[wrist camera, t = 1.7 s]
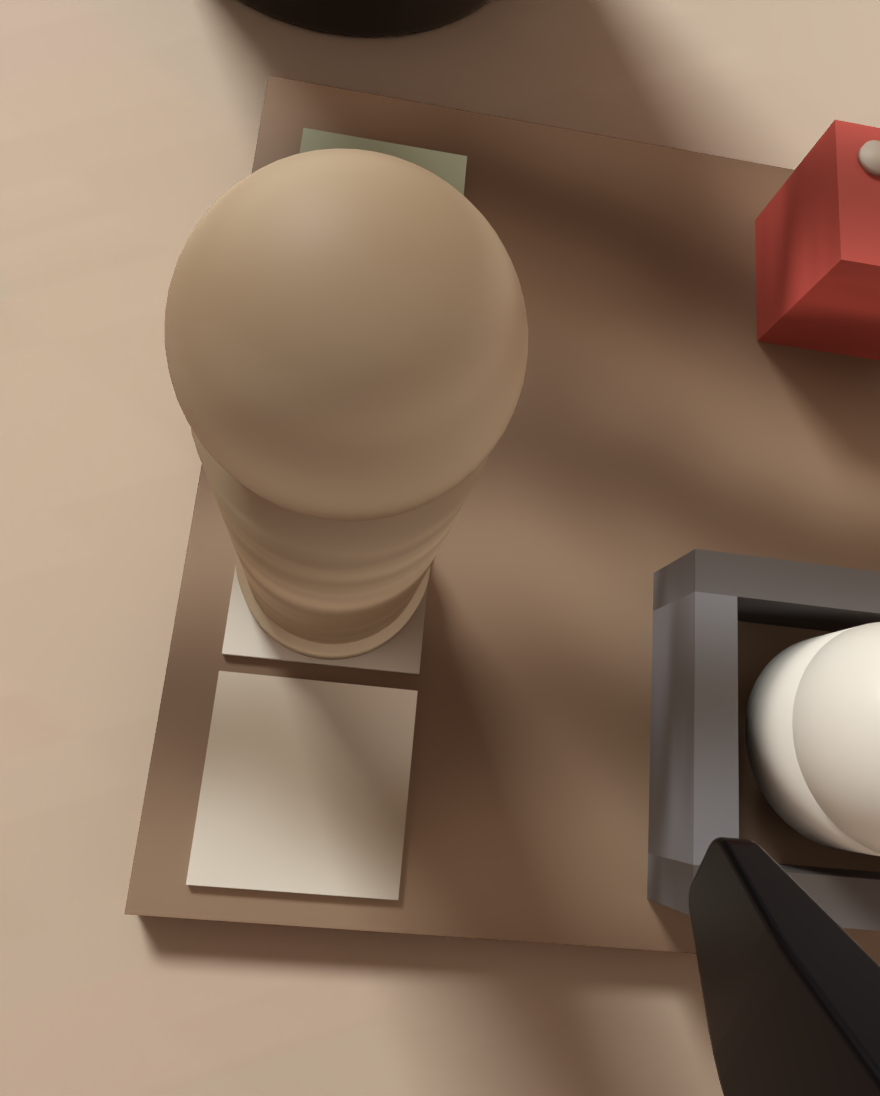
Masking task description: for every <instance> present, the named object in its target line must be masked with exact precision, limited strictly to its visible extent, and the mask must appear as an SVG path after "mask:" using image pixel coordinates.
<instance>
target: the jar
mask: <svg viewBox="0 0 880 1096" xmlns="http://www.w3.org/2000/svg"><path fill="white" fill-rule="evenodd" d="M241 1H243V2H244V3H246V4H248V5H249V6H251V7H253V8H255V9H257V10H259V11H261V12H263V13H266V14H268V15H271V16H273V17H275V18H278V19H280V20H283V21H286V22H289V23H292V24H295V25H298V26H302V27H306V28H309V29H313V30H318V31H323V32H328V33H335V34H342V35H353V36H391V35H401V34H408V33H414V32H419V31H423V30H428V29H431V28H435V27H438V26H441V25H444V24H447V23H449V22H452V21H454V20H457V19H459V18H461V17H463V16H465V15H467V14H469V13H471V12H472V11H474V10H476V9H477V8H479V7H480V6H482V5H483V4H485V3H486V2H487V1H488V0H241Z"/></svg>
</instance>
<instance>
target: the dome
mask: <svg viewBox="0 0 880 1096" xmlns="http://www.w3.org/2000/svg"><path fill="white" fill-rule="evenodd" d="M744 732H745V745H746V751H747V756H748V760H749V764H750V767H751V770H752V773H753V775H754V778H755V780H756V782H757V784H758V787H759V788H760V790H761V792H762V794H763V795H764V797H765V799H766V800H767V801H768V803H769V804H770V805H771V807H772V808H773V809H774V811H775V812H776V813H777V814H778V815H779V816H780V817H781V818H782V819H783V820H784V821H785V822H786V823H787V824H788V825H789V826H791V827H792V828H793V829H794V830H795V831H797V832H798V833H800V834H801V835H803V836H805V837H806V838H808V839H810V840H812V841H814V842H816V843H818V844H820V845H823V846H827V847H830V848H833V849H838V850H844V851H850V852H857V853H863V854H869V855H875V856H880V622H875V623H868V624H864V625H860V626H856V627H852V628H848V629H845V630H841V631H837V632H833V633H829V634H825V635H822V636H818V637H814V638H810V639H806V640H803V641H800V642H798V643H795V644H793V645H791V646H789V647H788V648H786V649H784V650H783V651H781V652H780V653H779V654H778V655H777V656H775V657H774V658H773V659H772V660H771V661H770V662H769V663H768V664H767V665H766V667H765V668H764V669H763V671H762V672H761V674H760V675H759V677H758V678H757V680H756V682H755V684H754V686H753V688H752V691H751V694H750V697H749V700H748V703H747V709H746V714H745V728H744Z"/></svg>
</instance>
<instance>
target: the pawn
mask: <svg viewBox="0 0 880 1096" xmlns="http://www.w3.org/2000/svg"><path fill="white" fill-rule="evenodd" d="M165 349H166V356H167V362H168V368H169V373H170V377H171V381H172V384H173V387H174V390H175V394H176V397H177V400H178V402H179V404H180V406H181V409H182V411H183V413H184V415H185V417H186V419H187V421H188V423H189V425H190V426H191V430H192V436H193V439H194V442H195V445H196V448H197V452H198V455H199V457H200V460H201V462H202V465H203V468H204V470H205V473H206V475H207V478H208V480H209V483H210V486H211V488H212V491H213V493H214V496H215V499H216V501H217V504H218V506H219V509H220V512H221V514H222V517H223V519H224V522H225V525H226V527H227V530H228V532H229V535H230V538H231V540H232V543H233V545H234V548H235V551H236V554H235V557H236V572H237V578H238V582H239V585H240V589H241V592H242V594H243V596H244V599H245V601H246V603H247V605H248V607H249V609H250V612H251V614H252V615H253V617H254V618H255V620H256V621H257V623H258V624H259V625H260V626H261V628H262V629H263V630H264V631H265V632H266V633H267V634H268V635H269V636H270V637H271V638H273V639H274V640H275V641H276V642H278V643H279V644H281V645H282V646H284V647H285V648H287V649H289V650H291V651H294V652H296V653H298V654H301V655H304V656H307V657H312V658H317V659H325V660H340V659H348V658H353V657H358V656H361V655H364V654H367V653H369V652H371V651H373V650H375V649H377V648H379V647H381V646H382V645H384V644H385V643H387V642H388V641H390V640H391V639H392V638H393V637H394V636H396V635H397V634H398V633H399V632H400V631H401V630H402V628H403V627H404V626H405V625H406V624H407V622H408V621H409V619H410V618H411V616H412V615H413V613H414V612H415V610H416V608H417V607H418V605H419V603H420V601H421V599H422V597H423V595H424V592H425V589H426V586H427V583H428V579H429V574H430V565H431V563H432V562H433V560H434V558H435V556H436V554H437V553H438V551H439V549H440V547H441V545H442V544H443V542H444V540H445V538H446V536H447V535H448V533H449V531H450V529H451V527H452V526H453V524H454V522H455V520H456V518H457V517H458V515H459V513H460V511H461V509H462V508H463V506H464V504H465V502H466V500H467V499H468V497H469V495H470V493H471V491H472V489H473V488H474V486H475V484H476V482H477V480H478V479H479V477H480V475H481V472H482V470H483V468H484V466H485V464H486V462H487V459H488V456H489V454H490V452H491V451H492V450H493V448H494V447H495V445H496V444H497V442H498V441H499V439H500V438H501V436H502V435H503V433H504V432H505V430H506V428H507V425H508V423H509V421H510V419H511V417H512V415H513V413H514V410H515V408H516V405H517V402H518V399H519V396H520V393H521V390H522V387H523V383H524V377H525V371H526V365H527V356H528V323H527V315H526V308H525V302H524V297H523V293H522V289H521V286H520V282H519V278H518V276H517V273H516V271H515V269H514V266H513V264H512V261H511V259H510V257H509V255H508V253H507V251H506V249H505V247H504V246H503V244H502V242H501V240H500V238H499V237H498V235H497V233H496V232H495V230H494V229H493V228H492V226H491V225H490V224H489V222H488V221H487V220H486V218H485V217H484V216H483V215H482V214H481V213H480V212H479V211H478V210H477V209H476V207H475V206H474V205H473V204H472V203H471V202H470V201H469V200H468V199H467V198H466V197H465V196H463V195H462V194H461V193H460V192H459V191H457V190H456V189H455V188H454V187H453V186H451V185H450V184H449V183H447V182H446V181H444V180H443V179H441V178H440V177H438V176H437V175H435V174H434V173H432V172H430V171H428V170H426V169H424V168H422V167H420V166H418V165H416V164H414V163H411V162H409V161H406V160H403V159H401V158H398V157H395V156H391V155H387V154H383V153H379V152H374V151H367V150H360V149H337V148H336V149H324V150H314V151H310V152H305V153H300V154H295V155H292V156H289V157H286V158H283V159H280V160H277V161H275V162H273V163H271V164H269V165H267V166H265V167H263V168H260V169H259V170H257V171H255V172H254V173H252V174H250V175H249V176H247V177H246V178H244V179H243V180H241V181H240V182H238V183H236V184H235V185H234V186H233V187H232V188H230V189H229V190H228V191H227V192H226V193H224V194H223V195H222V196H221V197H220V198H219V199H218V200H217V201H216V202H215V203H214V204H213V206H212V207H211V208H210V209H209V210H208V211H207V212H206V214H205V215H204V216H203V217H202V219H201V220H200V221H199V223H198V224H197V226H196V227H195V229H194V230H193V232H192V233H191V235H190V236H189V238H188V240H187V242H186V244H185V246H184V248H183V250H182V252H181V254H180V256H179V259H178V262H177V264H176V267H175V270H174V274H173V277H172V280H171V283H170V287H169V291H168V297H167V304H166V311H165Z"/></svg>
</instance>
